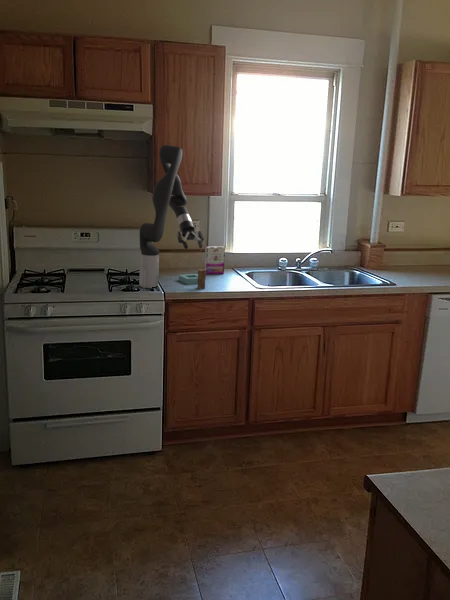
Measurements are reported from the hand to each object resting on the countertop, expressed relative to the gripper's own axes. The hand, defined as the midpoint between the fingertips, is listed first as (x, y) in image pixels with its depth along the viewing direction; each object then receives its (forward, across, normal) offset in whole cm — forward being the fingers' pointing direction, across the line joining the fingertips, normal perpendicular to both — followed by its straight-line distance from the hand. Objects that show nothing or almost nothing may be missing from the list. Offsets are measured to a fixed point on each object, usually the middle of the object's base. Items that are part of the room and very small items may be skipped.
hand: (194, 248), depth 306 cm
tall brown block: (+22, 0, +6) cm, 22 cm away
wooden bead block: (+10, +2, +18) cm, 21 cm away
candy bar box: (-1, +25, +30) cm, 39 cm away
